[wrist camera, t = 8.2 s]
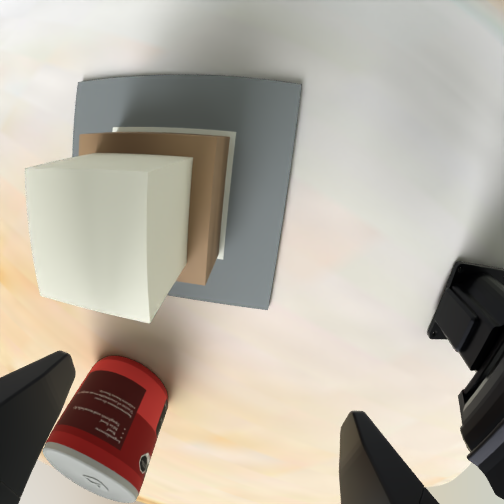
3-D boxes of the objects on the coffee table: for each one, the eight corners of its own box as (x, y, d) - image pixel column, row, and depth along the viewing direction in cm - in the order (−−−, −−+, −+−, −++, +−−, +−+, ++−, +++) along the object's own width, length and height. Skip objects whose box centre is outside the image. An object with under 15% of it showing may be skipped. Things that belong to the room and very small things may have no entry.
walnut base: (230, 136, 16) (217, 137, 12) (218, 254, 18) (205, 285, 15) (116, 131, 16) (79, 134, 12) (115, 239, 18) (83, 264, 15)
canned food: (132, 415, 26) (98, 499, 16) (81, 363, 24) (26, 446, 14) (188, 404, 25) (159, 507, 14) (131, 343, 22) (72, 449, 12)
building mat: (301, 85, 15) (301, 84, 14) (268, 306, 20) (267, 310, 20) (81, 82, 15) (77, 82, 15) (82, 275, 20) (79, 278, 20)
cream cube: (193, 157, 12) (147, 172, 8) (186, 263, 14) (149, 323, 10) (95, 152, 12) (25, 168, 8) (97, 249, 14) (40, 295, 10)
